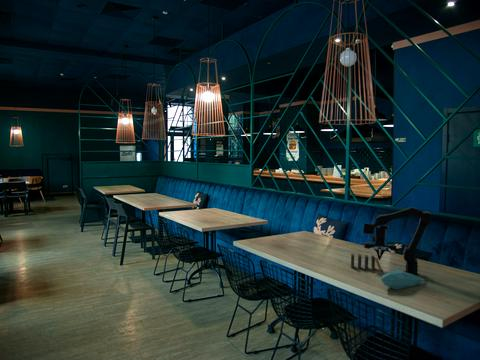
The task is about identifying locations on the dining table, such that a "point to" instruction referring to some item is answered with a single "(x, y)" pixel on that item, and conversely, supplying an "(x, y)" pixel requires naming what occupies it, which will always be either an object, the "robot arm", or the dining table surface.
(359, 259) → the domino
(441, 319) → the dining table surface
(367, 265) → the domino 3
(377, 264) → the domino
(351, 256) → the domino
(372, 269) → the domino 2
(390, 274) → the crystal
